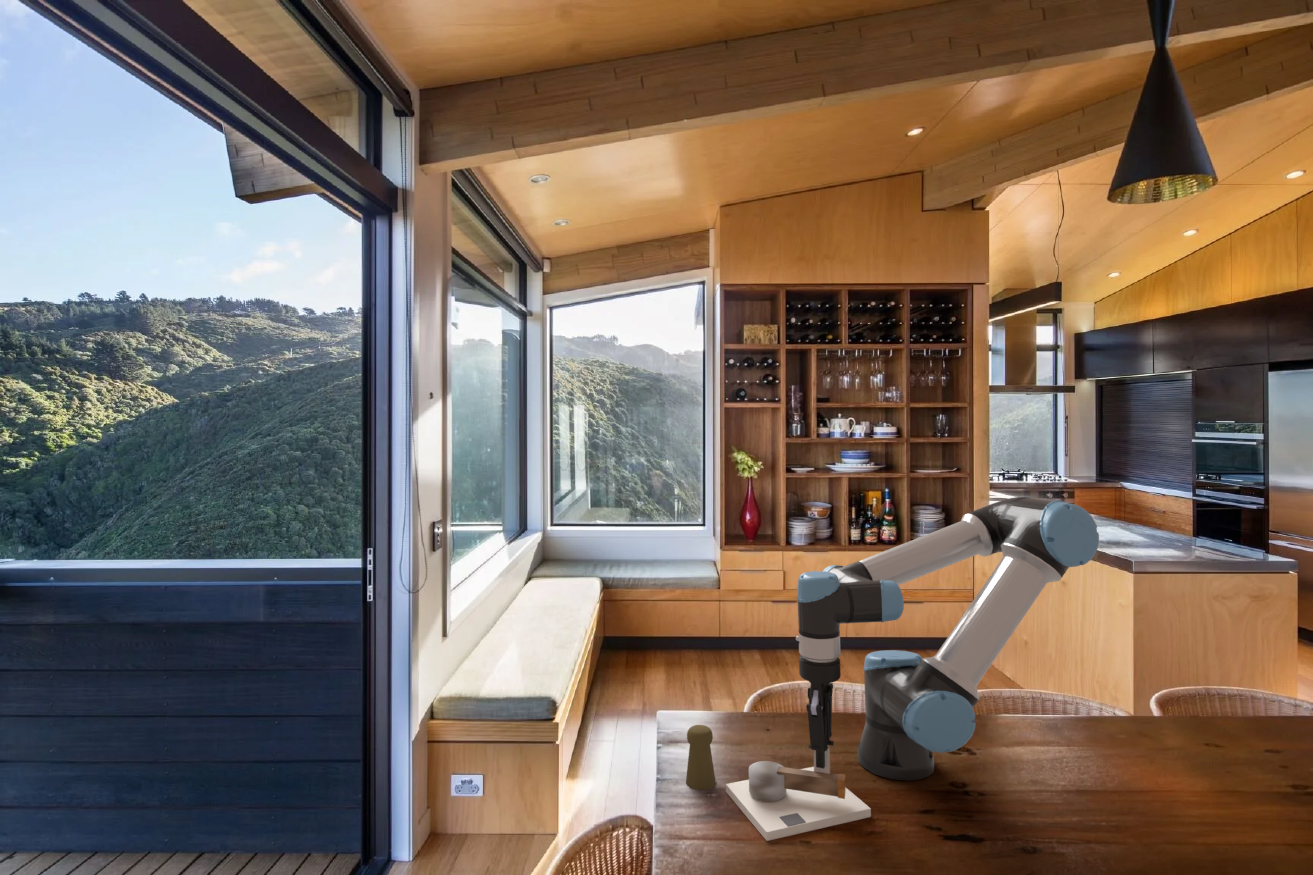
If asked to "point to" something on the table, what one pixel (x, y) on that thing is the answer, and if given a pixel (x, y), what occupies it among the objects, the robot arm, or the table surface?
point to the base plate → (796, 810)
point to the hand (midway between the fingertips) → (822, 781)
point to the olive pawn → (700, 758)
